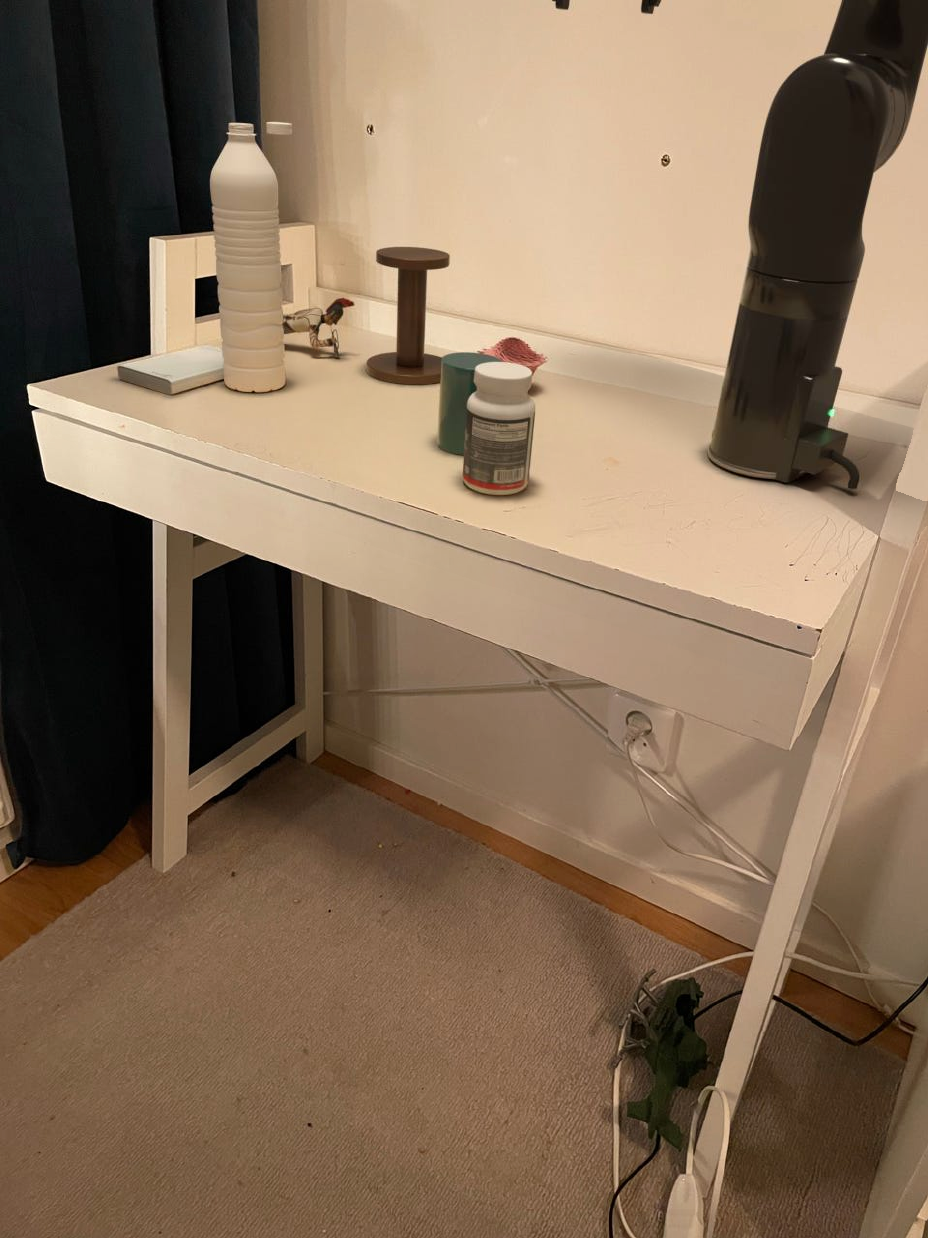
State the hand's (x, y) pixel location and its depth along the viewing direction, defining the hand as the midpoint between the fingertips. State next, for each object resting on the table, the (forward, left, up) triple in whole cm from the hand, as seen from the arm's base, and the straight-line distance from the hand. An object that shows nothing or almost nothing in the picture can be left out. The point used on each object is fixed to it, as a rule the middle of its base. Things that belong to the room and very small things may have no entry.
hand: (603, 10), depth 89 cm
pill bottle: (-16, +29, -36) cm, 49 cm away
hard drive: (+26, +33, -36) cm, 55 cm away
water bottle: (+19, +28, -36) cm, 50 cm away
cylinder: (-8, +24, -36) cm, 44 cm away
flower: (+2, +7, -36) cm, 37 cm away
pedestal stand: (+13, +12, -36) cm, 40 cm away
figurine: (+28, +17, -36) cm, 49 cm away
